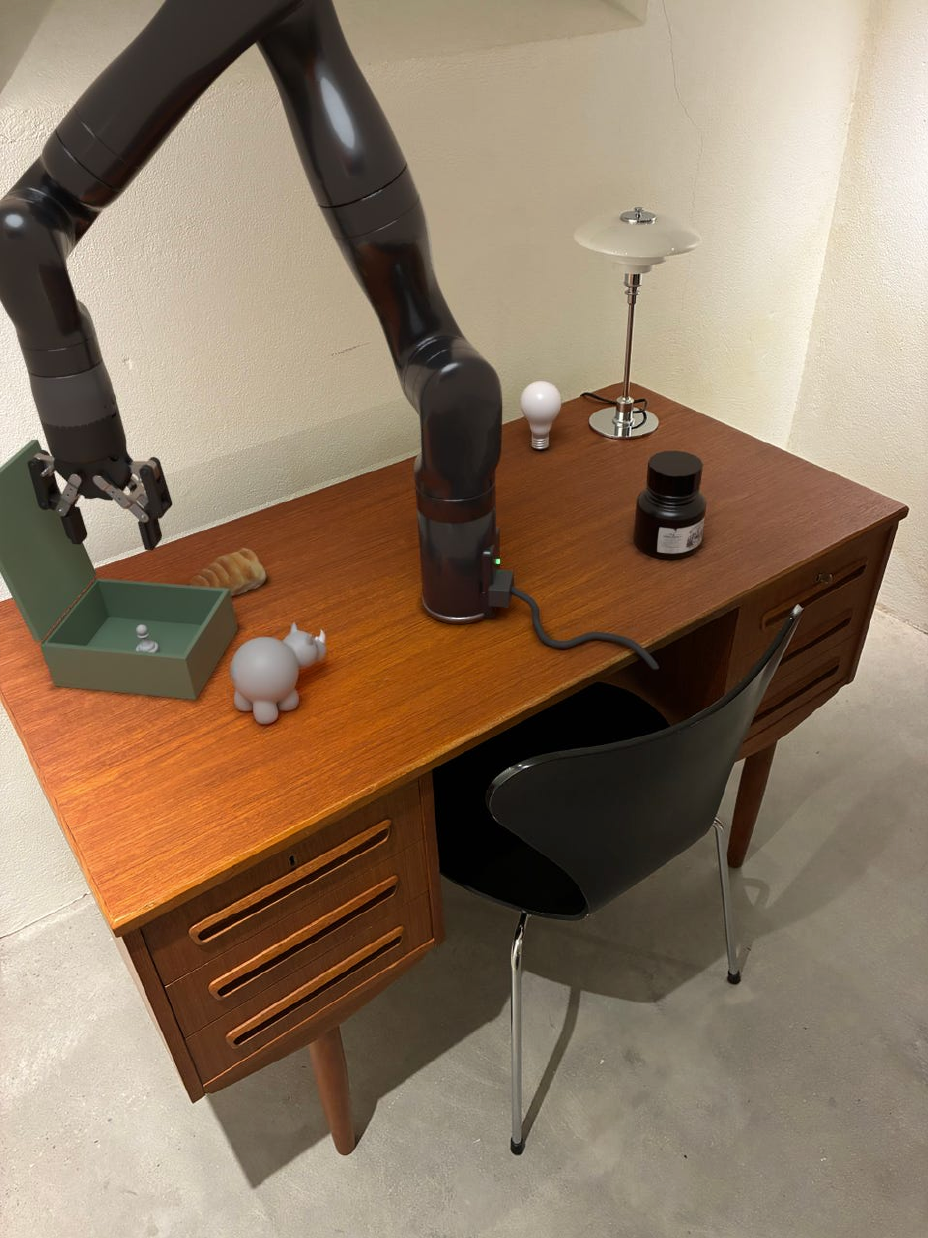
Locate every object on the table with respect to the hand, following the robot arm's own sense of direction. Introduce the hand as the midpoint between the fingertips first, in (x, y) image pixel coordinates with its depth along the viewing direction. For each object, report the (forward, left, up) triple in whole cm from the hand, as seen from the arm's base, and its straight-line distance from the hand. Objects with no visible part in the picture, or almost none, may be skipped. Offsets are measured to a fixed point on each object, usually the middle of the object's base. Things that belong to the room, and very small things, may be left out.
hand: (116, 543), depth 109 cm
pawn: (-1, +1, -15) cm, 15 cm away
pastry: (-5, -15, -15) cm, 22 cm away
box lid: (+9, +1, 0) cm, 9 cm away
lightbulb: (-40, -57, -15) cm, 71 cm away
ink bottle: (-60, -32, -15) cm, 70 cm away
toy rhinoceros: (-19, +5, -15) cm, 25 cm away
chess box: (-1, +1, -15) cm, 15 cm away
